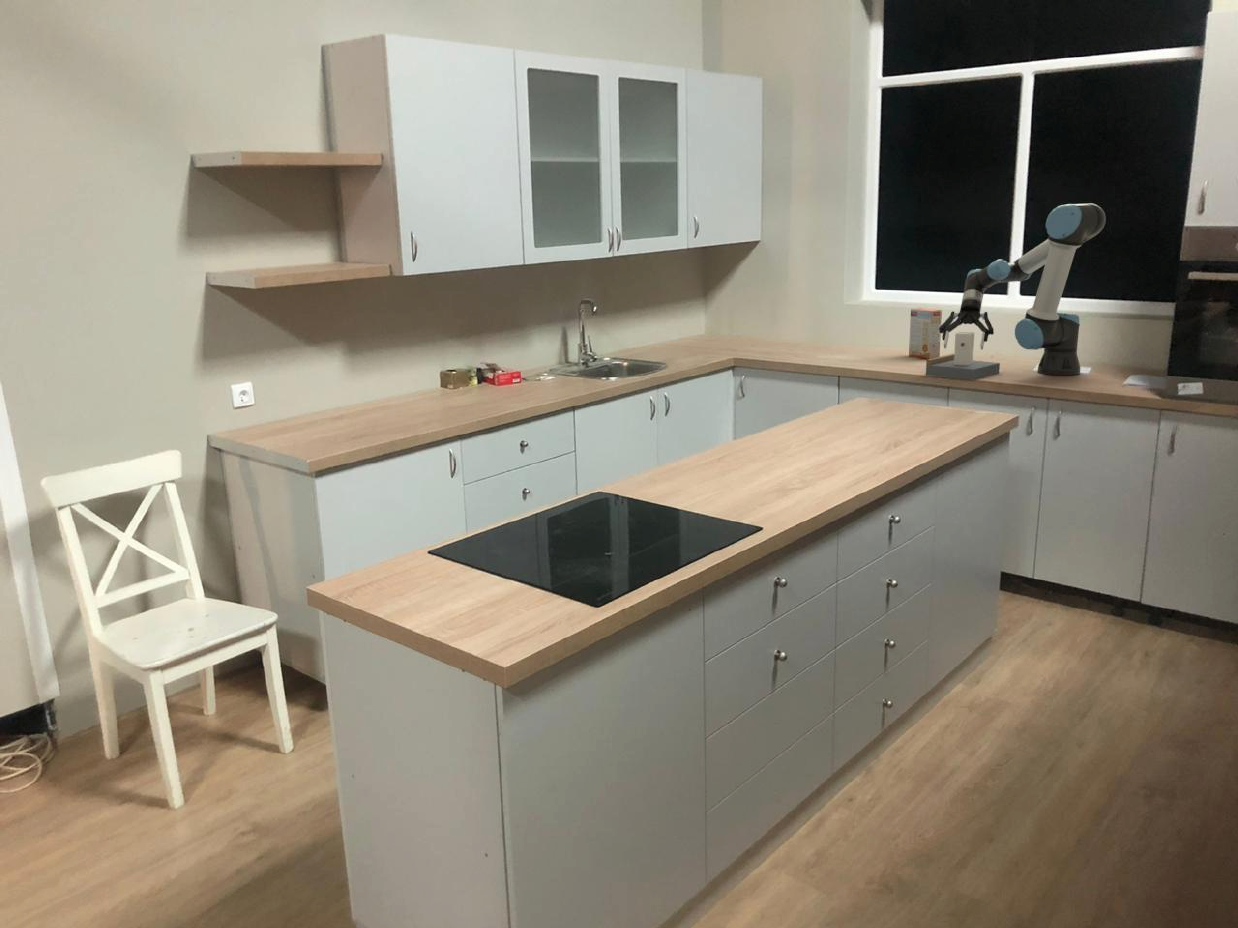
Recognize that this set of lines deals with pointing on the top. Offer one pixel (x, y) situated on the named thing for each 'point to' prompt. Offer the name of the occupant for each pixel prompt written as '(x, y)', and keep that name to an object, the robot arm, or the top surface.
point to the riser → (960, 368)
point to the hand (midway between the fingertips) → (963, 347)
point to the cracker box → (925, 333)
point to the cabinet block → (964, 348)
